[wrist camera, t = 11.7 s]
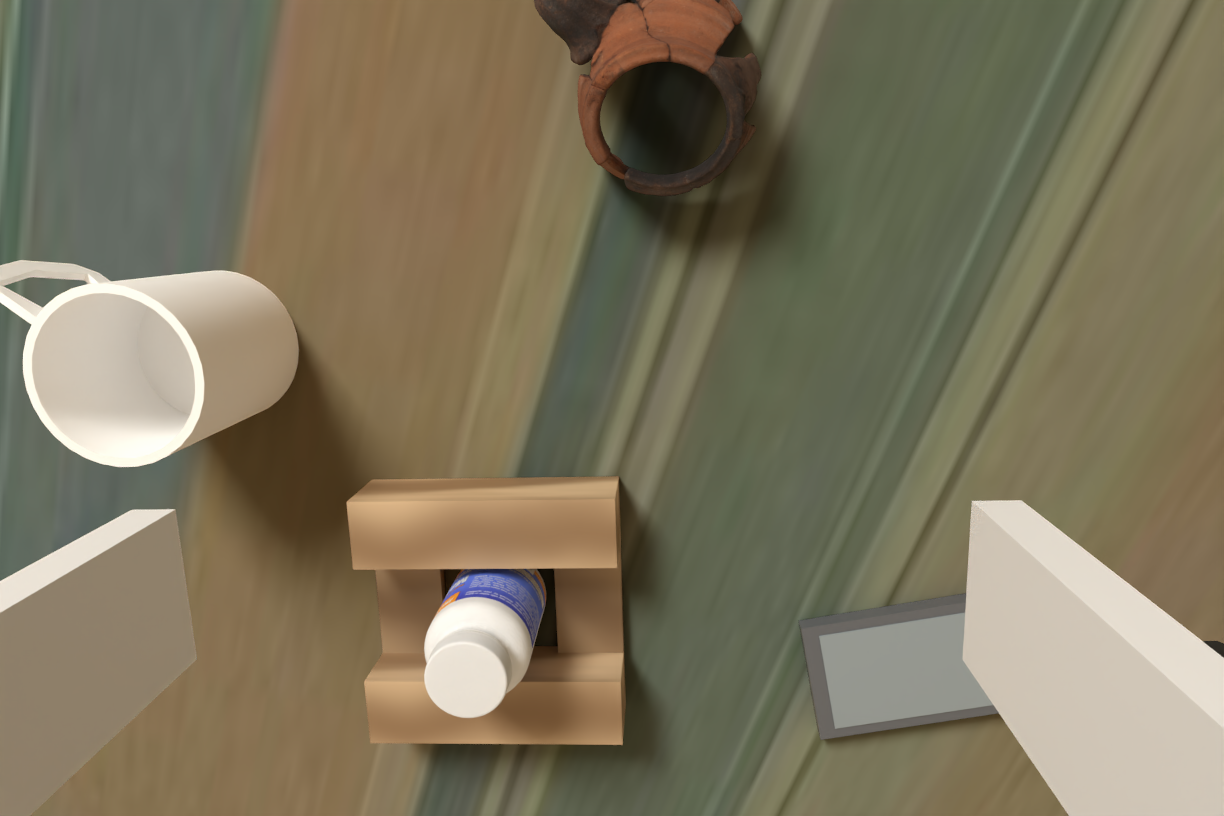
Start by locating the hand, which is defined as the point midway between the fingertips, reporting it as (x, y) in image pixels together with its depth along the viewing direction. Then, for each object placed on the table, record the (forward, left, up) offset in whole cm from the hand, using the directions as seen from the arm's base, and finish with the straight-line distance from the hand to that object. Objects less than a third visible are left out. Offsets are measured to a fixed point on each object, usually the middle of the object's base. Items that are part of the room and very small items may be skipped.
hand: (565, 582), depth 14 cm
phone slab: (+19, +16, -33) cm, 41 cm away
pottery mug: (-13, +1, -33) cm, 35 cm away
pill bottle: (+15, -8, -33) cm, 37 cm away
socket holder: (+15, -8, -33) cm, 37 cm away
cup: (-1, -24, -33) cm, 41 cm away
